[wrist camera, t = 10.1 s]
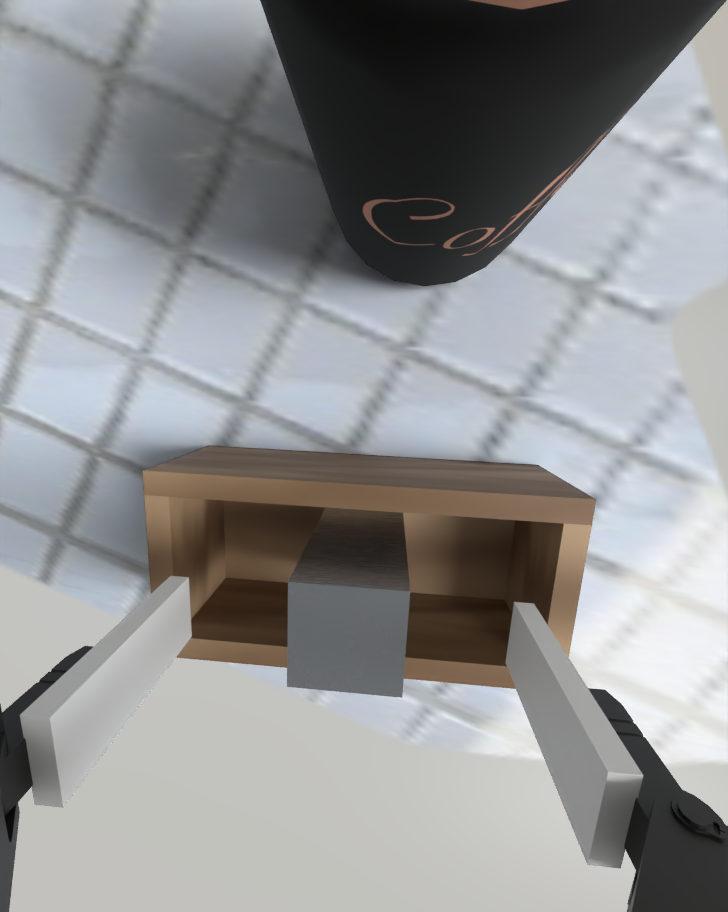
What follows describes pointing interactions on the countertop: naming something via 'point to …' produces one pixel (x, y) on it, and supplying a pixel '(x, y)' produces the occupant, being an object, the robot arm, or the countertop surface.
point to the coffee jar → (463, 111)
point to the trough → (427, 543)
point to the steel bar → (350, 605)
